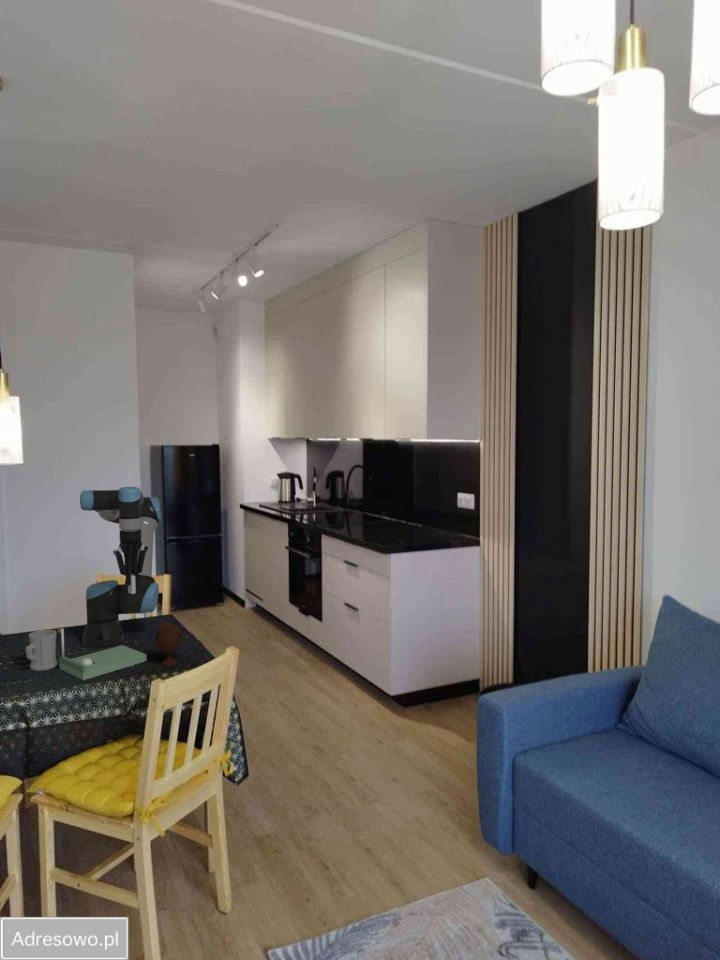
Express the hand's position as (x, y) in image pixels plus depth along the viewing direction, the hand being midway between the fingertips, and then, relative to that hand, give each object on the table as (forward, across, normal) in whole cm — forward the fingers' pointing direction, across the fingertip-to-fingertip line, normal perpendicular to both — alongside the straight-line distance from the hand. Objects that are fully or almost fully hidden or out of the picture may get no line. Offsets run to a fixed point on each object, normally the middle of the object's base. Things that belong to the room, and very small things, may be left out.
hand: (131, 592), depth 247 cm
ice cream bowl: (+23, +4, -18) cm, 30 cm away
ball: (+21, -19, -3) cm, 29 cm away
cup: (+23, -28, +11) cm, 38 cm away
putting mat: (+23, -13, -2) cm, 27 cm away
